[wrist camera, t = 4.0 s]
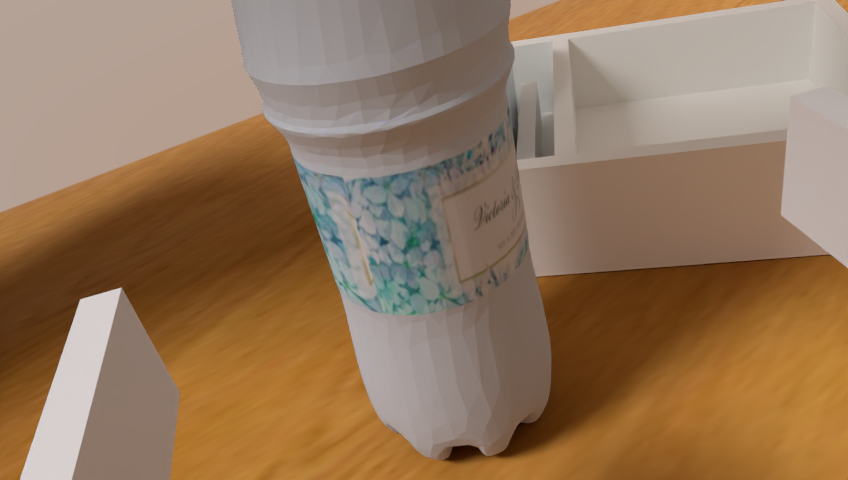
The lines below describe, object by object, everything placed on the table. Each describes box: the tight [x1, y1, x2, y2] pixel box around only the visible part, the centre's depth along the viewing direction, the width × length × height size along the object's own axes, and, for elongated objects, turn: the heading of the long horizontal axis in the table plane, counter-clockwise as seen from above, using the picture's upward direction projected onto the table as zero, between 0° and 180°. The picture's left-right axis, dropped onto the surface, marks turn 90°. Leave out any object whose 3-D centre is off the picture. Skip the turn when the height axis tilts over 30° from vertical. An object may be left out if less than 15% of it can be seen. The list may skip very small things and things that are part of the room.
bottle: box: [231, 0, 552, 461], centre depth 20 cm, size 7×7×20 cm
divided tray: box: [506, 0, 848, 277], centre depth 32 cm, size 19×14×9 cm
